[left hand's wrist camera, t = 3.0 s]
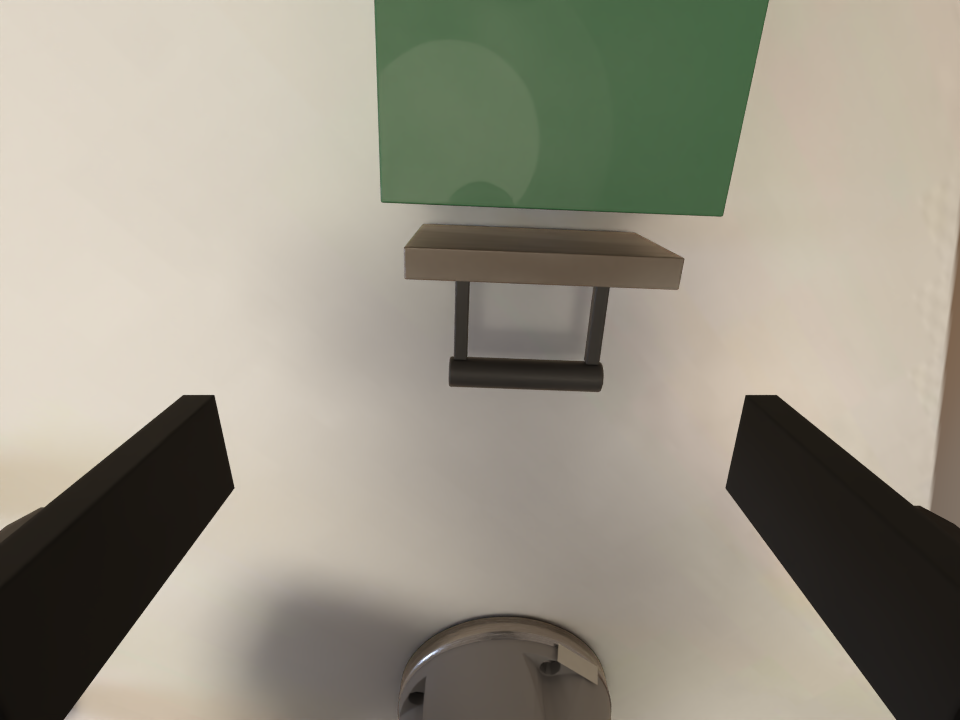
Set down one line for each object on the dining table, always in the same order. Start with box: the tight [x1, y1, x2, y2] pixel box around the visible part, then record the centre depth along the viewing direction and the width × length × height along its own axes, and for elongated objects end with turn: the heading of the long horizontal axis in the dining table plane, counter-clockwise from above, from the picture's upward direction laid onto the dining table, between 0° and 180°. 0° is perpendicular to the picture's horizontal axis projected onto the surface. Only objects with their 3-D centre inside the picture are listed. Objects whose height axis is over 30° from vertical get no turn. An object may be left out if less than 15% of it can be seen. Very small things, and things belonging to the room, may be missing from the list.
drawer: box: [404, 224, 684, 392], centre depth 19 cm, size 25×10×6 cm, turn 178°
